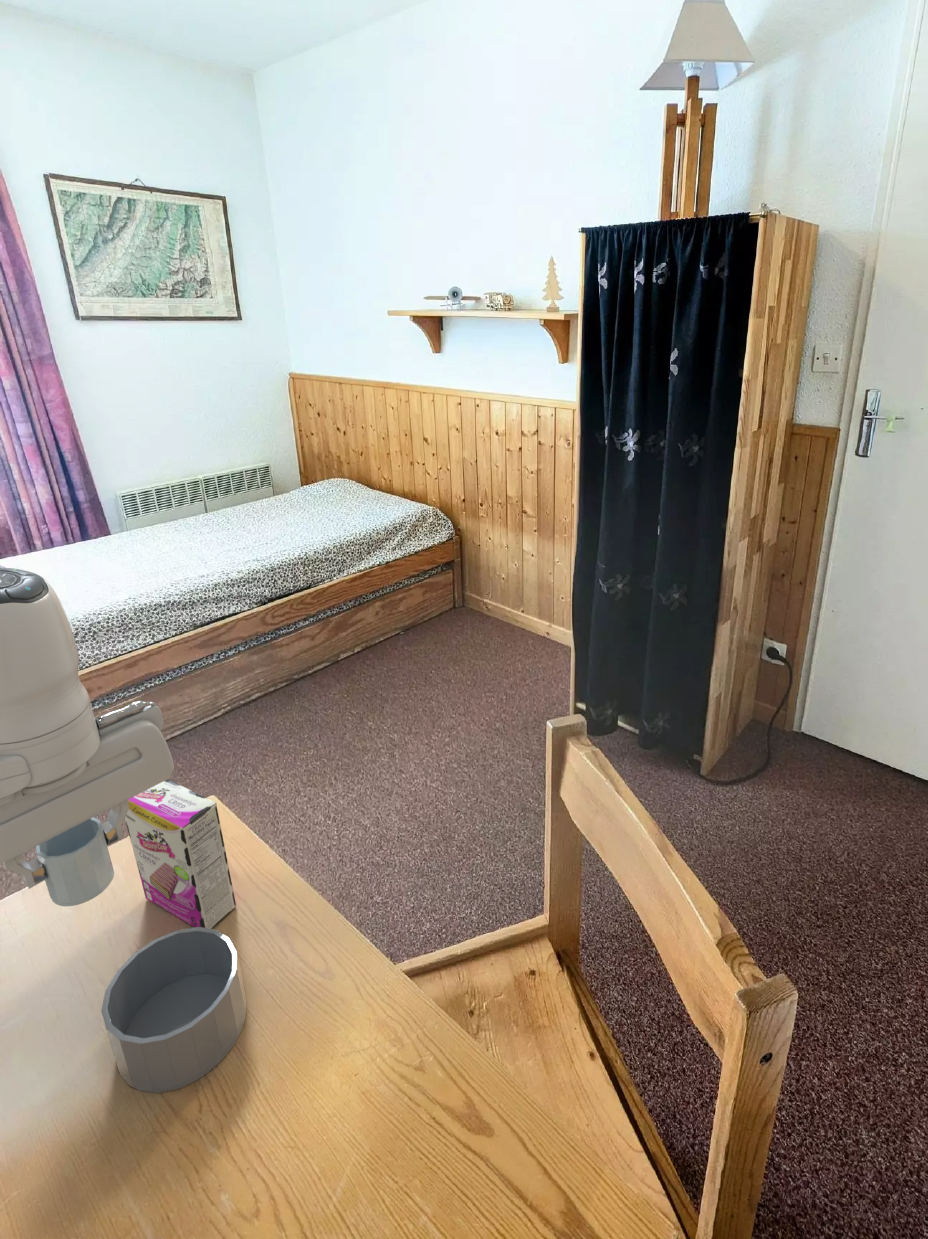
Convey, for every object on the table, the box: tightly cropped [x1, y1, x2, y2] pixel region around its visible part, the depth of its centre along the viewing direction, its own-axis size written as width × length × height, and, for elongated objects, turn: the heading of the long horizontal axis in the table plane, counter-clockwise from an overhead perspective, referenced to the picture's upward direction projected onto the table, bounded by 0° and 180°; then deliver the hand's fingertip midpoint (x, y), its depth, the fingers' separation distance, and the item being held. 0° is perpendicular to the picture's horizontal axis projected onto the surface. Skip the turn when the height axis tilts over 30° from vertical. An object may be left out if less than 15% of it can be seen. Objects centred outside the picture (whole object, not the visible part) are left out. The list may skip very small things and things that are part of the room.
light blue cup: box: [35, 817, 115, 907], centre depth 66 cm, size 5×6×6 cm
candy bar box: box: [124, 778, 237, 929], centre depth 81 cm, size 11×5×16 cm, turn 63°
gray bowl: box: [100, 927, 247, 1094], centre depth 68 cm, size 12×12×7 cm
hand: (75, 859), depth 66 cm, fingers closed on light blue cup, 5 cm apart
